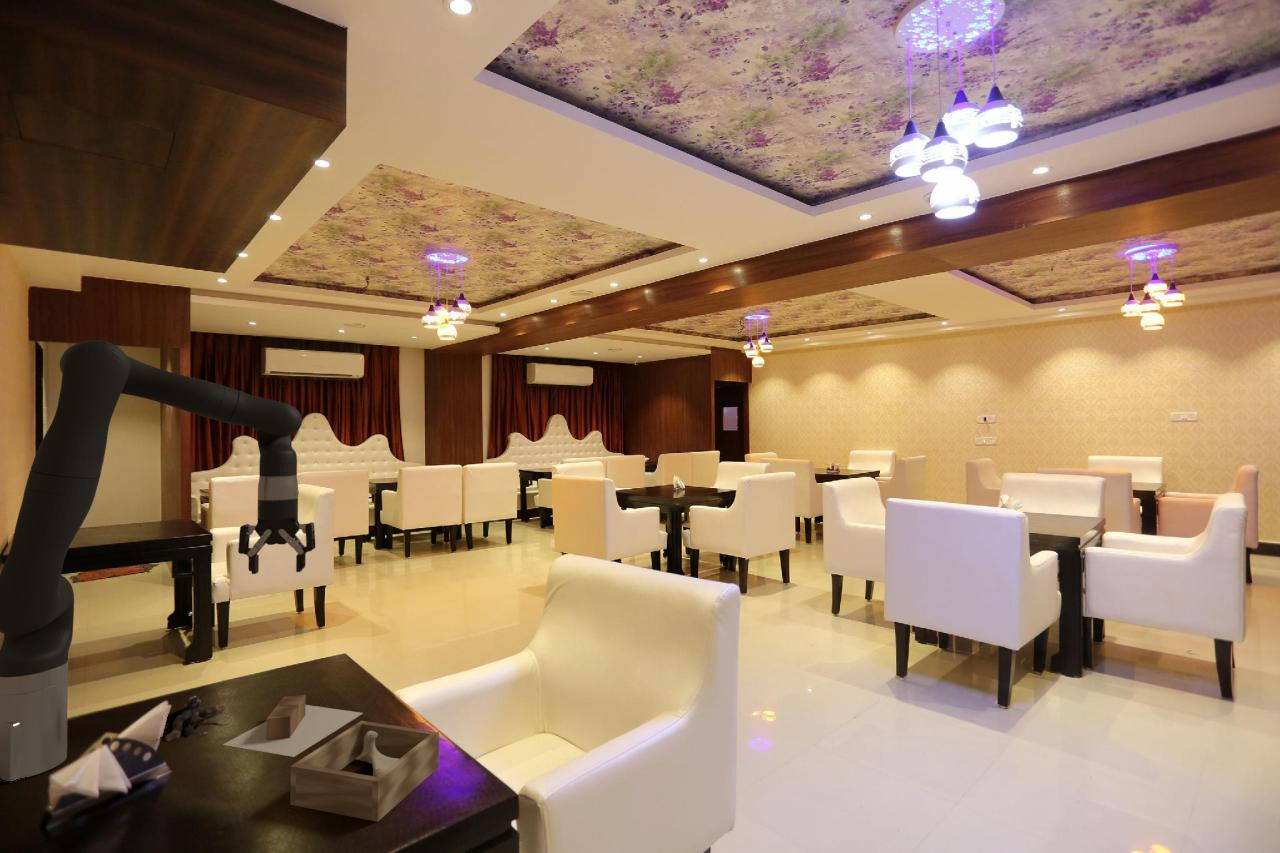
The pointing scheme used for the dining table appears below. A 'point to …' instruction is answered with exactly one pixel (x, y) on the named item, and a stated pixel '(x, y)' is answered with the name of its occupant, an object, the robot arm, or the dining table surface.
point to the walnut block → (285, 717)
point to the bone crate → (358, 793)
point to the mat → (296, 732)
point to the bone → (375, 755)
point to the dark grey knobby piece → (190, 719)
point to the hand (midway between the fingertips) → (277, 572)
